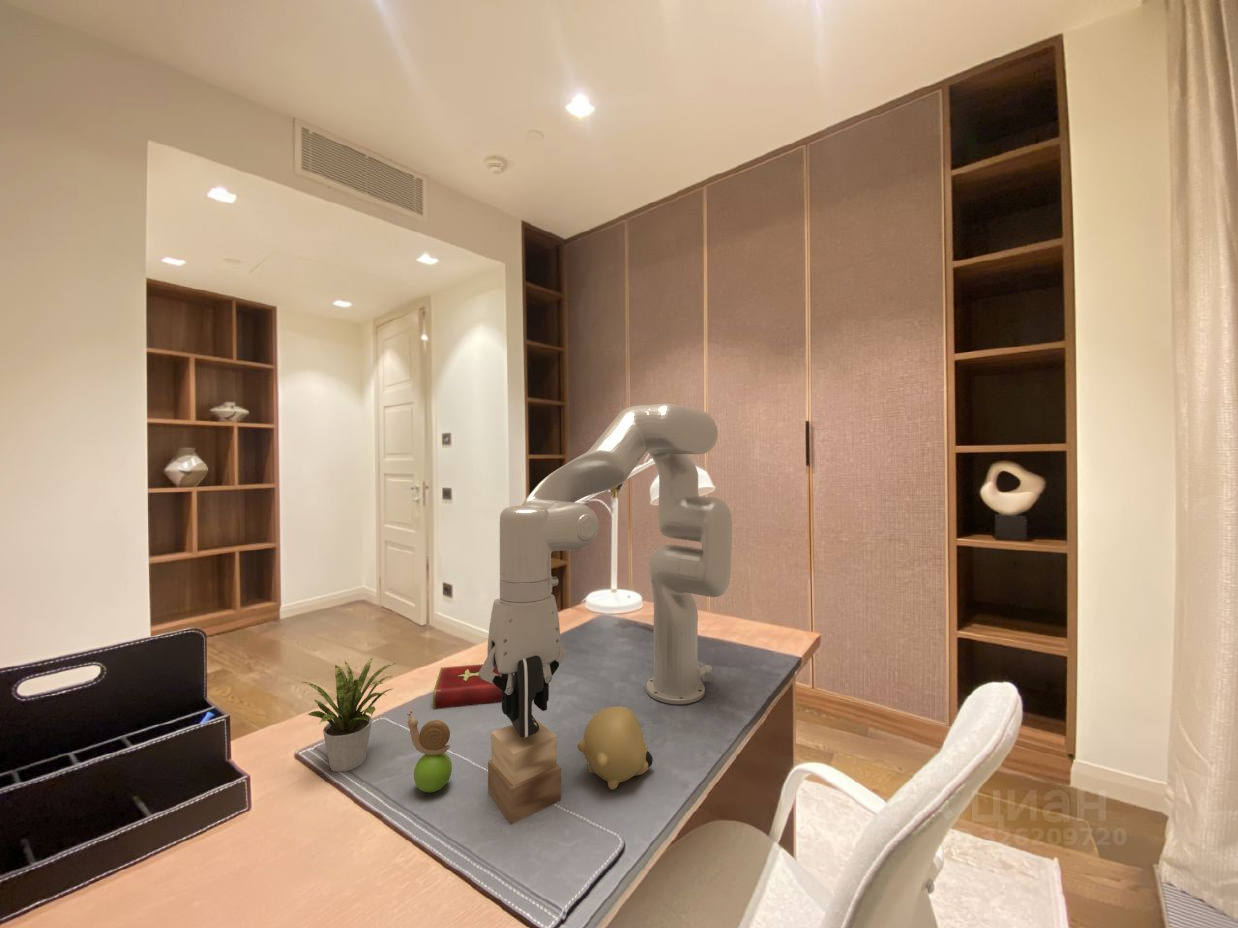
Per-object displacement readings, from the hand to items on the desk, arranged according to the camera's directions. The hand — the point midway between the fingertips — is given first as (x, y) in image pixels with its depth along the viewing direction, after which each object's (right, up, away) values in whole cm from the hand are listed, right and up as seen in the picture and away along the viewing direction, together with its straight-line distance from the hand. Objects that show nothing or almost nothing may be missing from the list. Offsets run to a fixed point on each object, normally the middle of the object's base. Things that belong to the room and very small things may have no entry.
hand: (525, 710), depth 73 cm
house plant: (-30, -13, +8) cm, 33 cm away
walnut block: (0, -13, 0) cm, 13 cm away
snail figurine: (-15, -13, +2) cm, 20 cm away
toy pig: (+13, -13, +5) cm, 19 cm away
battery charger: (0, -3, 0) cm, 3 cm away
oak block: (0, -8, 0) cm, 8 cm away
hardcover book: (-14, -13, +34) cm, 39 cm away
